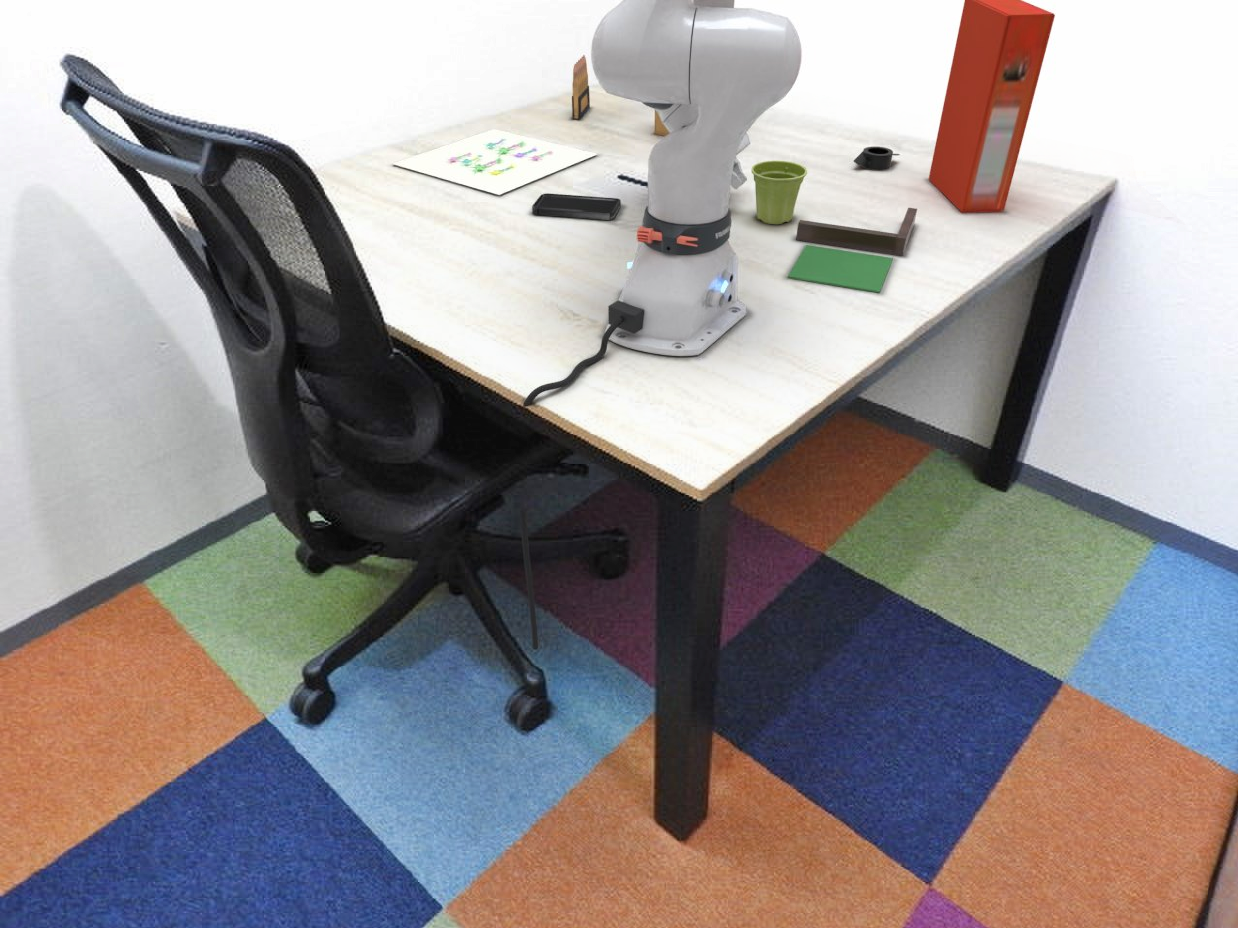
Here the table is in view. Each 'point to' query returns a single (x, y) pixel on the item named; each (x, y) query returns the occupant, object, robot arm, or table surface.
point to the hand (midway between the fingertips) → (741, 185)
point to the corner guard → (858, 235)
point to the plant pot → (777, 189)
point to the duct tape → (875, 158)
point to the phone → (576, 206)
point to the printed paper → (495, 160)
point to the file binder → (988, 101)
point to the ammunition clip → (580, 90)
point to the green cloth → (841, 268)
